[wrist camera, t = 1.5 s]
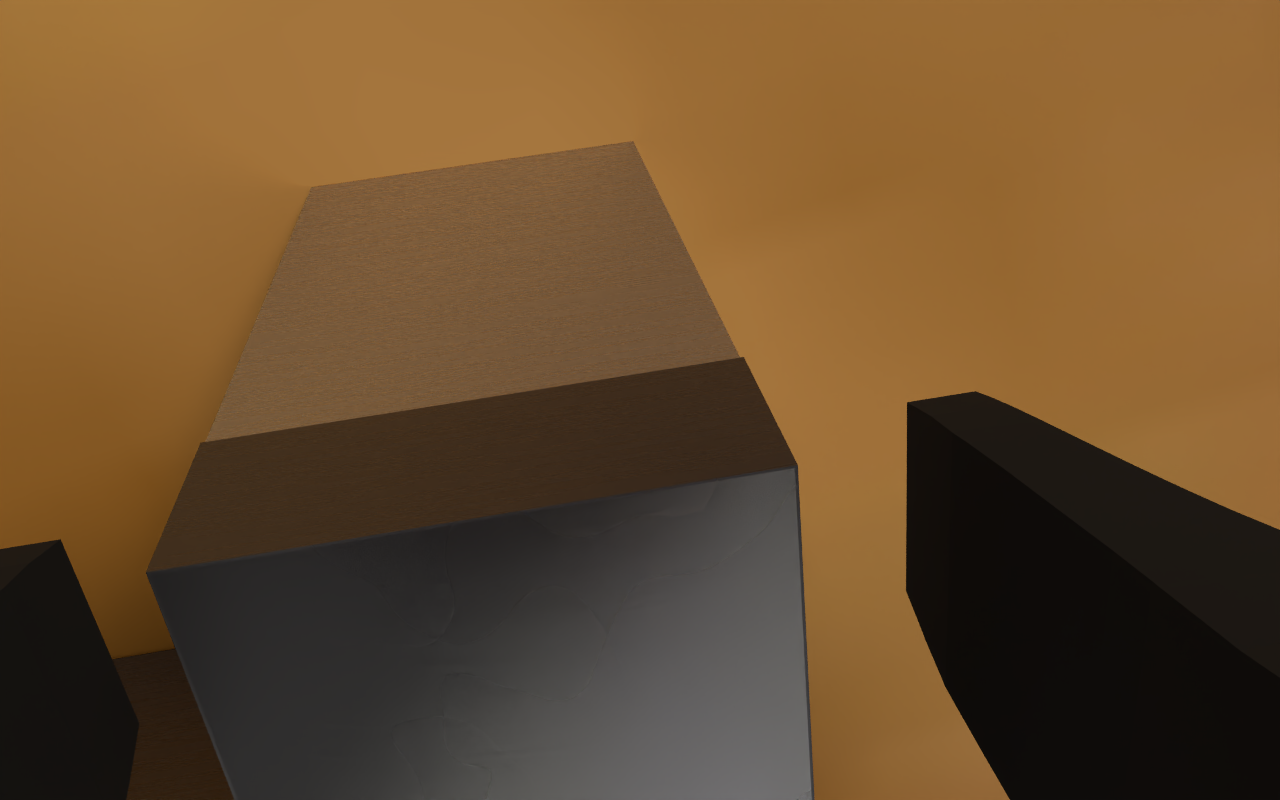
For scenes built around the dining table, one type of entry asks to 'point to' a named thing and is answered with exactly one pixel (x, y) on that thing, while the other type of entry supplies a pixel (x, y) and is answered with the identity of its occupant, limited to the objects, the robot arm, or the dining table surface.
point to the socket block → (169, 733)
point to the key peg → (493, 509)
